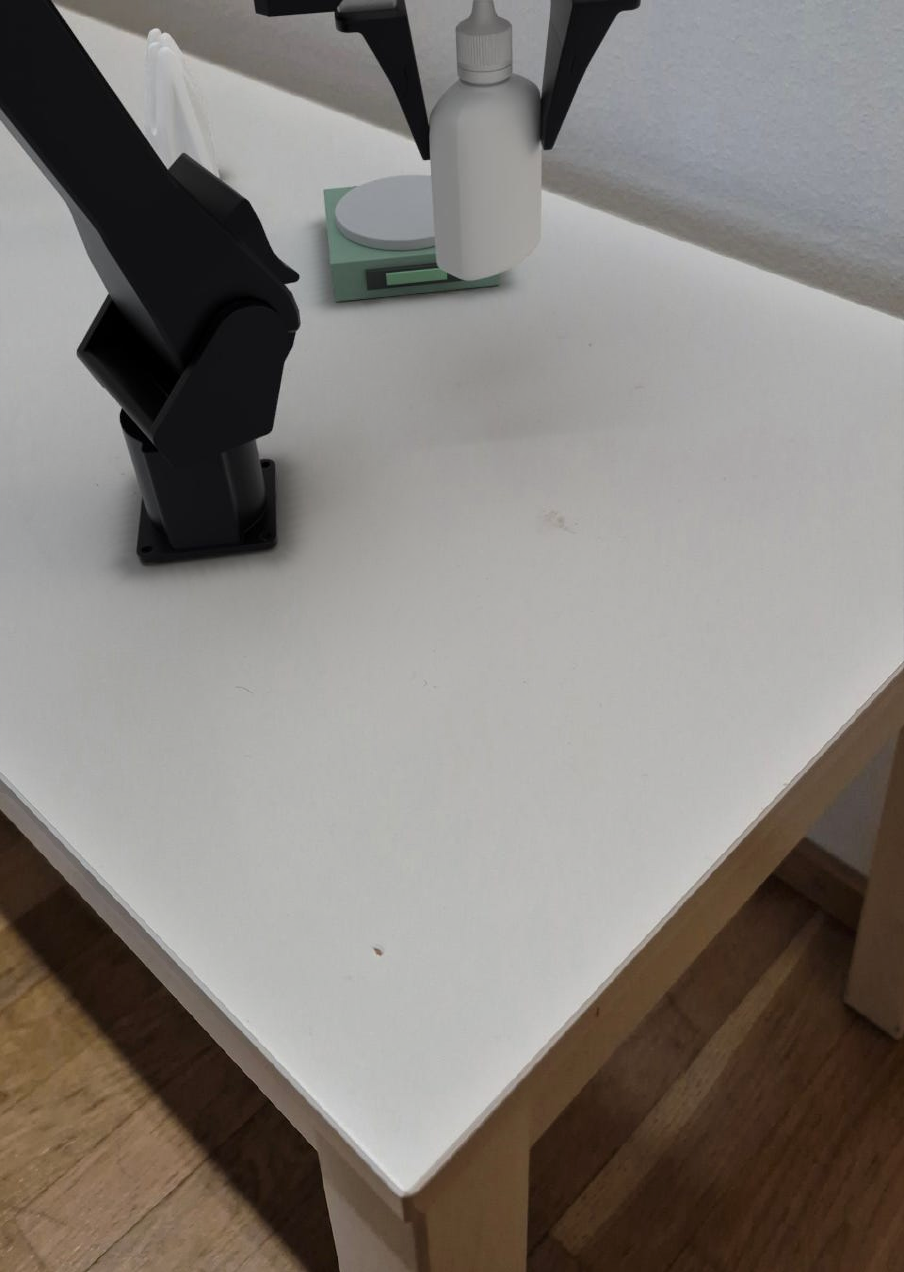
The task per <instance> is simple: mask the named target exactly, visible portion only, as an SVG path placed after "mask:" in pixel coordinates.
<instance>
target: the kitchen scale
mask: <svg viewBox="0 0 904 1272" xmlns="http://www.w3.org/2000/svg"><path fill="white" fill-rule="evenodd" d="M323 203H324V213H325V223H326V233H327V243H328V245H327V246H328V255H329V264H330V273H331V279H332V280H331V282H332V288H333V295H334V296H333V297H334V302H336V303H337V302H347V301H348V302H349V301H356V300H366V299H376V298H377V299H378V298H386V297H397V296H405V295H415V294H416V295H417V294H425V293H426V294H427V293H435V292H444V291H445V292H446V291H455V290H463V289H464V290H465V289H473V288H474V289H475V288H485V287H495V286H500V273H499V274H496V275H493V276H490V277H486V278H482V279H478V280H471V281H466V280H462V279H460V278H457V277H455V276H453V275H451V274H449V273H447V272H445V271H443V270H441V269H440V268H439V267H438V266H437V263H436V249H435V233H434V216H433V199H432V181H431V175H427V174H405V175H393V176H387V177H381V178H379V179H375V180H371V181H368V182H365V183H362V184H360V185H354V186H343V187H333V188H325V189H323Z"/></svg>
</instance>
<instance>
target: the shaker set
mask: <svg viewBox="0 0 904 1272" xmlns="http://www.w3.org/2000/svg"><path fill="white" fill-rule="evenodd" d="M144 68H145V69H144V111H143V112H144V113H143V114H144V115H143V116H144V117H143V119H144V121H143V123H144V124H143V125H144V133H145V134H144V135H145V137H146V139H147V140H148V142H149V143H150V144H151V146H152V147H153V149H154V150H155V152H156V153H157V155H158V156H159V158H160V159H161V160H162V162H163V163H164V165H165V166H166V168H167V169H169V168H170V167H171V165H172V164H173V163H174V162H175V161H176V160H177V158H178V157H179V156H180V155H181V154H182V153H186V154H187V155H189V156H190V157H191V158H192V159H194V160H195V161H196V162H198V163H199V164H200V165H202V166H203V167H204V168H206V169H207V170H208V171H210V172H211V173H212V174H214V175H215V176H216V177H218V178H219V179H220V178H221V176H220V173H219V169H218V167H219V166H218V162H217V157H216V152H215V147H214V139H213V136H212V129H211V126H210V121H209V116H208V111H207V106H206V102H205V99H204V95H203V92H202V89H201V88H200V86H199V83H198V81H197V79H196V77H195V75H194V73H193V71H192V69H191V67H190V64H189V63H188V61H187V59H186V57H185V56H184V54H183V52H182V50H181V49H180V47H179V45H178V44H177V42H176V41H175V40H174V38H173V36H171V35H170V33H168V32H163V33H162V32H161V30H160V28H157V27H156V28H153V29H151V30H150V31H149V32H148V34H147V40H146V53H145V64H144Z"/></svg>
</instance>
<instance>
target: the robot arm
mask: <svg viewBox="0 0 904 1272" xmlns="http://www.w3.org/2000/svg"><path fill="white" fill-rule="evenodd" d="M641 4H642V0H550V6H549V7H550V9H549V20H548V27H547V40H546V48H545V56H544V66H543V75H542V76H543V77H542V85H541V93H540V95H541V136H540V138H541V144H542V150H543V151H551V150H553V148H554V147H555V144H556V142H557V139H558V136H559V134H560V131H561V129H562V127H563V124H564V122H565V120H566V118H567V115H568V112H569V111H570V108H571V105H572V103H573V101H574V98H575V96H576V94H577V91H578V89H579V87H580V86H579V85H580V84H581V82H582V79H583V77H584V75H585V73H586V71H587V69H588V67H589V65H590V63H591V61H592V60H593V58H594V56H595V54H596V52H597V51H598V49H599V47H600V45H601V44H602V42H603V40H604V39H605V36H606V35H607V33H608V31H609V30H610V28H611V26H612V25H613V24H614V21H615V19H616V17H617V16H618V15H619V14H620V13H622V12H629V11H634V10H637V9H639V8H640V7H641ZM253 5H254V12H255V14H256V15H260V16H264V17H267V18H273V17H275V18H276V17H287V16H288V17H289V16H299V15H301V16H302V15H312V14H313V15H314V14H323V13H324V14H325V13H334V25H335V29H336V31H338V32H340V33H343V34H344V33H345V34H355V33H357V34H360V35H361V36H362V38H363V39H364V41H365V42H366V44H367V46H368V47H369V49H370V51H371V52H372V54H373V56H374V57H375V59H376V61H377V62H378V65H379V67H381V69H382V71H383V73H384V75H385V76H386V78H387V80H388V81H389V83H390V85H391V87H392V90H393V92H394V94H395V97H396V98H397V101H398V103H399V107H400V108H401V111H402V113H403V116H404V118H405V121H406V123H407V126H408V128H409V130H410V133H411V136H412V138H413V140H414V142H415V145H416V147H417V150H418V152H419V155H420V157H421V159H422V161H430V141H429V134H430V128H429V118H428V113H427V107H426V101H425V97H424V91H423V87H422V82H421V78H420V71H419V66H418V62H417V56H416V51H415V46H414V41H413V36H412V30H411V26H410V25H411V24H410V20H409V15H408V9H407V4H406V0H253ZM0 122H1V123H2V125H4V127H5V128H6V129H7V131H8V132H9V133H10V134H11V136H12V137H13V138H14V139H15V141H16V142H17V143H18V144H19V146H20V147H21V148H22V150H23V151H24V152H25V154H26V155H27V156H28V157H29V158H30V159H31V161H32V162H33V163H34V165H35V166H36V167H37V168H38V170H39V171H40V172H41V173H42V175H43V176H44V177H45V179H46V180H47V181H48V182H49V183H50V185H51V186H52V187H53V188H54V190H55V191H56V192H57V193H58V194H59V196H60V197H61V198H62V201H64V203H65V205H66V207H67V208H68V210H69V213H70V214H71V216H72V219H73V221H74V224H75V227H76V229H77V232H78V234H79V237H80V239H81V241H82V244H83V247H84V249H85V252H86V255H87V257H88V258H89V260H90V262H91V264H92V266H93V268H94V269H95V271H96V273H97V275H98V277H99V279H100V280H101V282H102V284H103V286H104V287H105V289H106V291H107V293H108V294H107V295H106V297H105V299H104V300H103V303H102V304H101V305H100V307H99V310H98V311H97V313H96V315H95V316H94V319H93V320H92V322H91V324H90V325H89V327H88V329H87V331H86V333H85V335H84V336H83V338H82V340H81V342H80V343H79V345H78V347H77V348H76V357H77V358H78V360H79V361H80V362H81V363H82V365H83V366H84V367H85V369H86V370H88V372H89V373H90V374H91V376H92V377H93V378H94V379H95V380H96V382H97V383H98V384H99V385H100V386H101V388H103V389H105V390H106V391H107V393H108V394H109V395H110V396H111V397H112V398H113V399H114V401H115V402H116V403H117V404H118V405H119V406H120V408H121V409H120V411H119V424H120V428H121V430H122V434H123V437H124V440H125V441H124V442H125V444H126V447H127V450H128V453H129V457H130V460H131V463H132V467H133V470H134V474H135V477H136V480H137V483H138V487H139V490H140V493H141V504H140V514H139V523H138V532H137V541H136V542H137V543H136V555H137V558H138V560H139V562H140V563H143V564H152V563H161V562H172V561H179V560H187V559H189V560H190V559H196V558H206V557H215V556H223V555H232V554H233V555H234V554H242V553H249V552H250V553H251V552H259V551H268V550H271V549H273V548H275V547H276V546H277V545H278V542H279V537H278V536H279V533H278V492H277V490H278V489H277V487H278V485H277V468H276V467H277V466H276V463H275V461H274V460H273V459H271V458H262V459H260V455H259V450H258V445H257V439H261V438H262V437H265V436H267V435H270V434H272V432H273V430H274V424H275V420H276V414H277V408H278V402H279V397H280V390H281V386H282V385H281V384H282V379H283V373H284V369H285V363H286V361H287V359H288V358H289V355H290V353H291V351H292V349H293V347H294V344H295V340H296V334H297V331H298V330H299V329H300V328H301V324H302V323H301V314H300V309H299V307H298V304H297V302H296V299H295V297H294V295H293V293H292V291H291V290H290V288H288V286H287V285H289V284H294V283H297V282H298V281H299V280H300V279H301V277H300V273H298V272H297V271H296V270H294V269H293V268H292V267H291V266H290V265H288V264H287V263H286V262H285V261H283V260H282V259H280V257H278V255H276V253H275V252H274V249H273V248H272V246H271V244H270V241H269V239H268V237H267V234H266V231H265V229H264V227H263V224H262V222H261V220H260V217H259V216H258V214H257V213H256V211H255V208H254V207H253V205H252V204H251V202H250V201H249V199H247V198H246V197H244V196H243V195H242V194H241V193H239V192H238V191H237V190H235V189H234V188H232V187H231V186H230V185H229V184H227V183H226V182H225V181H223V180H222V179H221V178H220V177H219V178H218V177H216V176H215V175H214V174H212V173H211V172H210V171H208V170H207V169H206V168H204V167H203V166H202V165H200V164H199V163H198V162H196V161H195V160H194V159H192V158H191V157H190V156H189V155H187V154H186V153H182V154H181V155H180V156H179V157H178V158H177V160H176V161H175V162H174V163H173V164H172V165H171V167H170V168H169V169H167V168H166V166H165V165H164V163H163V162H162V160H161V159H160V158H159V156H158V155H157V153H156V152H155V150H154V149H153V147H152V146H151V144H150V143H149V142H148V140H147V139H146V135H145V134H144V133H143V132H142V130H141V129H140V127H139V125H138V124H137V123H136V121H135V119H134V118H133V117H132V115H131V114H130V112H129V111H128V110H127V108H126V106H125V105H124V104H123V102H122V101H121V99H120V98H119V97H118V95H117V93H116V92H115V90H114V89H113V88H112V87H111V85H110V84H109V82H108V81H107V79H106V78H105V77H104V75H103V73H102V71H100V69H99V67H98V66H97V65H96V62H94V60H93V59H92V57H91V56H90V54H89V53H88V52H87V50H86V49H85V47H84V45H83V44H82V42H81V41H80V40H79V38H78V37H77V35H76V34H75V33H74V31H73V30H72V28H71V26H70V25H69V24H68V23H67V21H66V19H65V18H64V16H63V15H62V14H61V12H60V11H59V10H58V8H57V6H56V5H55V4H54V2H53V0H0Z"/></svg>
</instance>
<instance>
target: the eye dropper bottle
mask: <svg viewBox="0 0 904 1272" xmlns="http://www.w3.org/2000/svg"><path fill="white" fill-rule="evenodd" d="M455 52H456V75H457V77H458V78H457V80H456V81H455V82H453V84H452V85H451V86H449V87H448V89H446V90H445V92H443V94H442V95H441V96H440V97H439V99H438V100H437V101H436V103H435V105H434V107H433V108H432V110H431V112H430V115H429V121H428V123H429V128H430V134H429V141H430V160H429V163H430V176H431V181H432V199H433V216H434V233H435V249H436V263H437V266H438V267H439V268H440V269H441V270H443V271H445V272H447V273H449V274H451V275H453V276H455V277H457V278H460V279H462V280H466V281H471V280H478V279H482V278H486V277H490V276H493V275H496V274H499V275H500V274H501V273H504V272H506V271H509V270H511V269H512V268H514V267H516V266H518V265H519V264H521V263H522V262H524V261H525V260H526V259H527V258H528V257H529V256H531V255H532V254H533V253H534V252H535V250H536V249H537V248H538V246H539V244H540V242H541V239H542V166H543V165H542V164H543V163H542V160H543V159H542V156H543V155H542V150H543V147H542V144H541V138H540V136H541V92H540V89H539V87H538V86H537V84H536V83H535V82H534V81H532V80H531V79H529V78H527V77H525V76H523V75H520V74H516V73H514V70H513V66H514V65H513V25H512V23H511V22H510V21H509V20H508V19H506V18H504V17H501V16H499V15H498V13H497V12H496V8H495V2H494V0H472V5H471V11H470V14H469V16H468V17H467V18H465V19H463V20H461V21H459V22H458V23H457V24H456V26H455Z"/></svg>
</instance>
